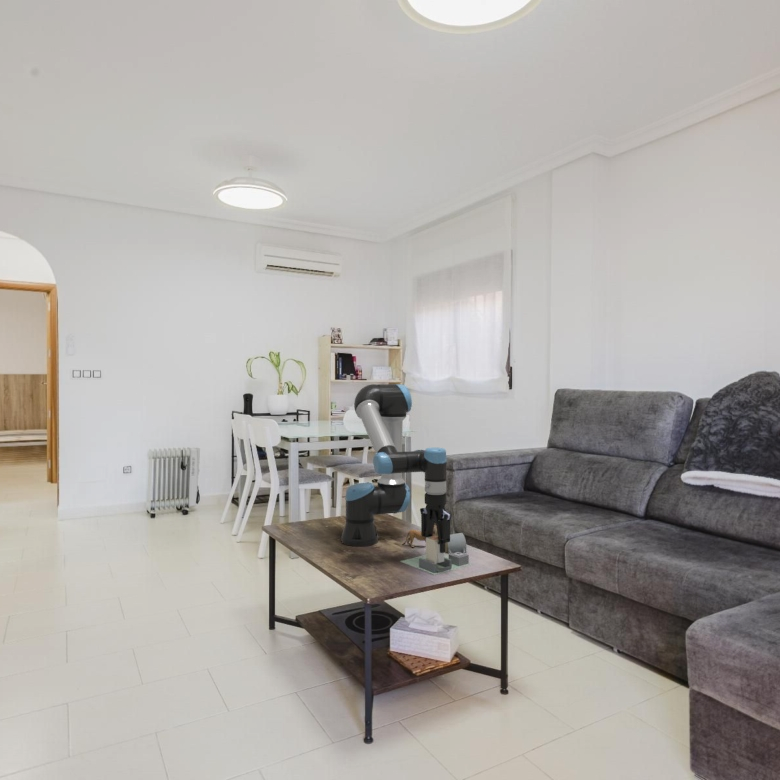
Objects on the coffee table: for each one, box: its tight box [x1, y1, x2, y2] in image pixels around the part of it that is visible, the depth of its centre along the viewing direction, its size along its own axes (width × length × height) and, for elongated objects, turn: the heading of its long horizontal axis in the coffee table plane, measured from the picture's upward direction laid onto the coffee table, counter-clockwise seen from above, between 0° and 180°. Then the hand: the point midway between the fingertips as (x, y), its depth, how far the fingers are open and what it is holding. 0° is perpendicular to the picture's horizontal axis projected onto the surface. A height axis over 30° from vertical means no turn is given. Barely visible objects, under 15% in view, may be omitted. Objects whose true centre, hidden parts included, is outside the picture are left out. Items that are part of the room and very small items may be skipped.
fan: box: [448, 552, 470, 566], centre depth 199 cm, size 5×5×4 cm
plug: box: [425, 535, 443, 563], centre depth 193 cm, size 4×4×9 cm
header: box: [419, 557, 452, 574], centre depth 194 cm, size 9×8×3 cm
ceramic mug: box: [444, 532, 467, 555], centre depth 212 cm, size 11×8×8 cm
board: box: [399, 554, 471, 576], centre depth 199 cm, size 18×18×1 cm
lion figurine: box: [401, 524, 438, 548], centre depth 222 cm, size 15×5×9 cm, turn 82°
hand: (435, 559), depth 193 cm, fingers closed on plug, 4 cm apart
